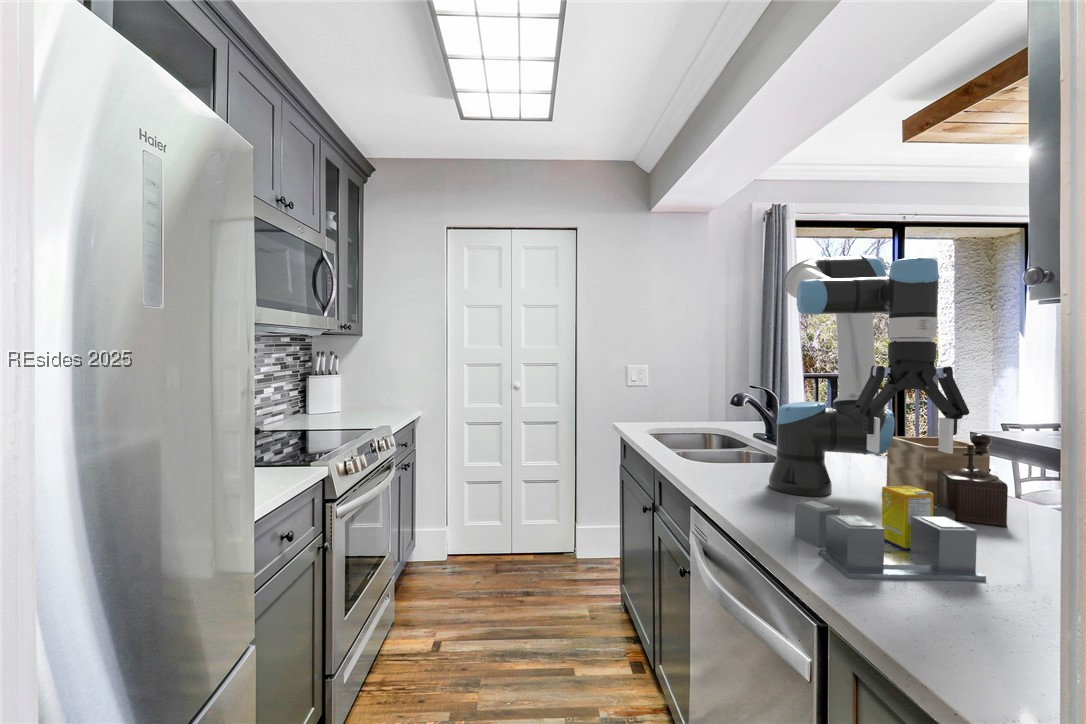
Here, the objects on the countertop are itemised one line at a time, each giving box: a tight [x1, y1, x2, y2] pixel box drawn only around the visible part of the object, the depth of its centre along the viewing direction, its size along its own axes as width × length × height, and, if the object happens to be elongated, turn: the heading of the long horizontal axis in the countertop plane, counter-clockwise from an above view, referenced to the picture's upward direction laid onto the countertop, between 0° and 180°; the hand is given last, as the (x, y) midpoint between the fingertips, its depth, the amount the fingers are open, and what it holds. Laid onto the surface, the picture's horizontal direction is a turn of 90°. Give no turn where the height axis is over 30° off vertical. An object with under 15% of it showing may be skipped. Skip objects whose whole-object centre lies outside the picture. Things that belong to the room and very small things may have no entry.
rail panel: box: [818, 514, 987, 582], centre depth 90 cm, size 10×22×8 cm, turn 88°
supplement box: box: [881, 485, 934, 551], centre depth 100 cm, size 6×6×11 cm
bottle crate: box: [885, 436, 991, 505], centre depth 134 cm, size 15×15×14 cm
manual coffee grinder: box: [937, 433, 1009, 529], centre depth 119 cm, size 16×11×18 cm
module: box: [794, 499, 841, 548], centre depth 102 cm, size 6×5×7 cm
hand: (909, 451), depth 99 cm, fingers open, 13 cm apart
